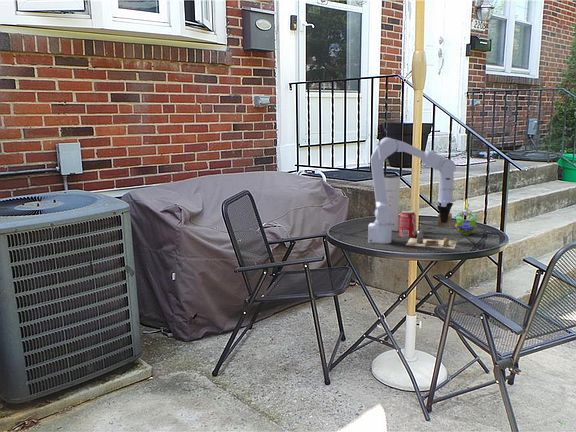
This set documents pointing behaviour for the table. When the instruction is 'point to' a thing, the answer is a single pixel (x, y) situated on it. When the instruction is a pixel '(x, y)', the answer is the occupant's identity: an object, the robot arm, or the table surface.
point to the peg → (419, 236)
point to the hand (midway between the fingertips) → (444, 221)
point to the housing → (447, 221)
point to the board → (433, 243)
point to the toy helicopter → (466, 226)
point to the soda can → (407, 223)
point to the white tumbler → (393, 198)
